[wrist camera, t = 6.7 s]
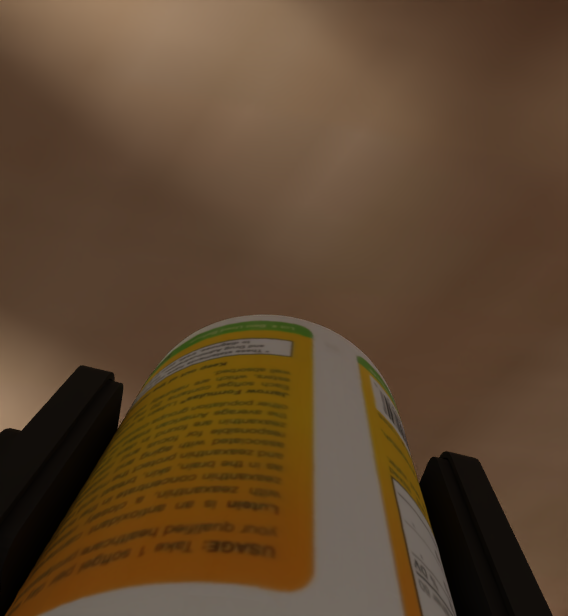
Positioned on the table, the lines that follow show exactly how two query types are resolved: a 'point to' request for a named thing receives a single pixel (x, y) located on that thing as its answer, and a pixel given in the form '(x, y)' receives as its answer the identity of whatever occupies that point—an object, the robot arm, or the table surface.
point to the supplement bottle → (249, 491)
